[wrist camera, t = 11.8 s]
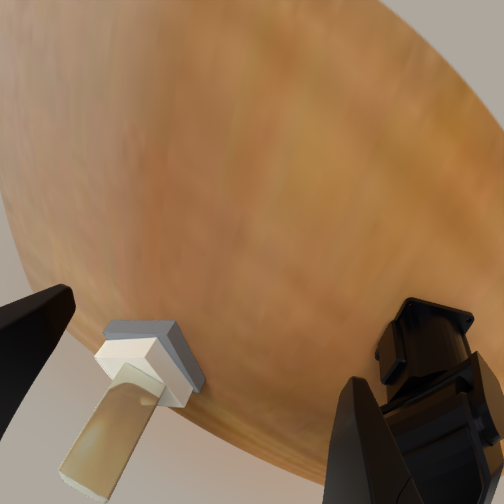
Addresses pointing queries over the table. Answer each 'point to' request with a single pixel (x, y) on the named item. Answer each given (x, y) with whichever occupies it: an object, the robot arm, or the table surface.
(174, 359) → the tower bottom
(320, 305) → the table surface
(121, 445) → the skincare box
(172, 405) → the tower top
